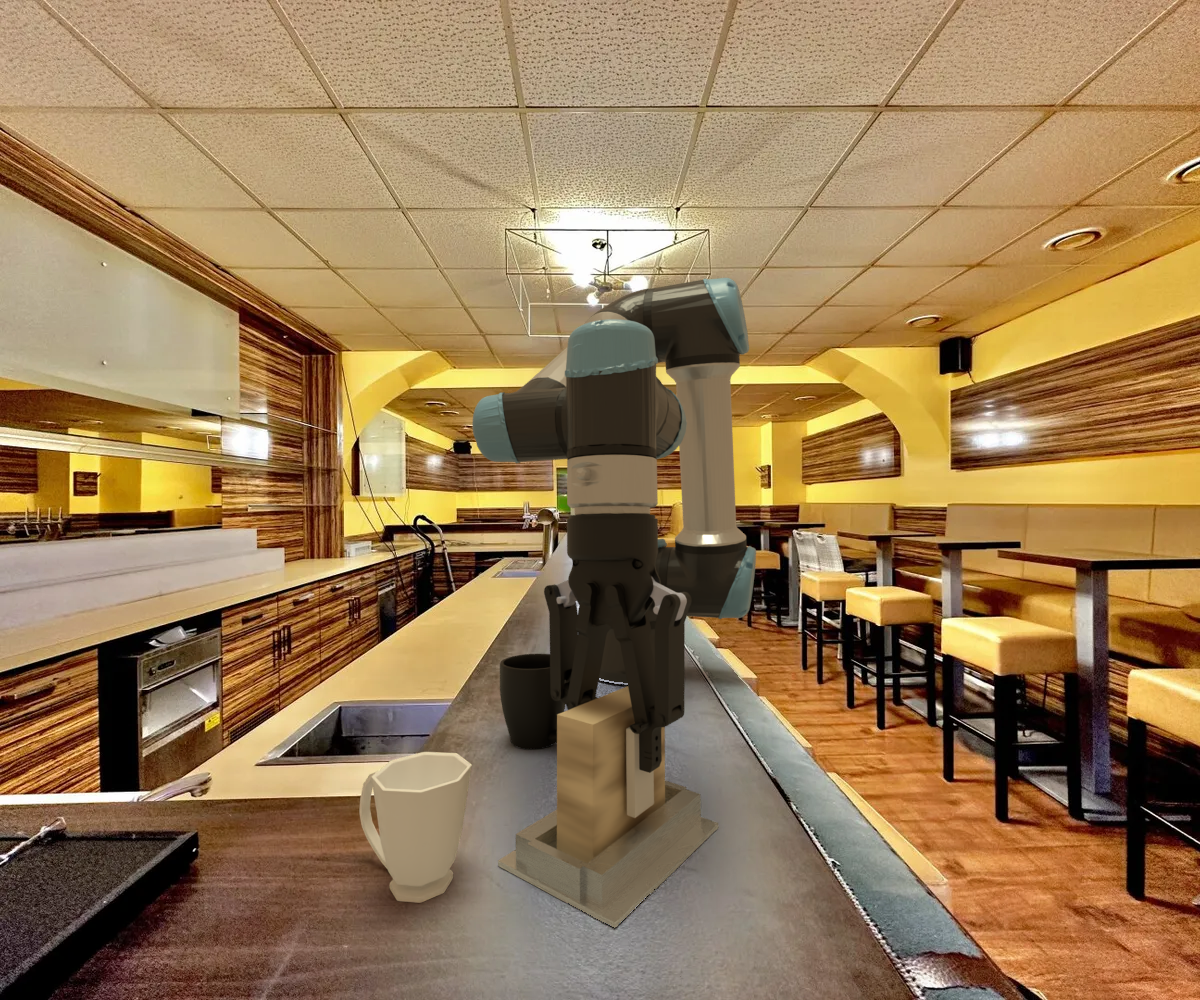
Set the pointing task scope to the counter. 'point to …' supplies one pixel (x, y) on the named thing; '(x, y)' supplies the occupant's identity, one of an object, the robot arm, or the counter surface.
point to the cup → (417, 820)
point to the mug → (529, 701)
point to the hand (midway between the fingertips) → (614, 799)
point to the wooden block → (597, 776)
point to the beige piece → (613, 858)
